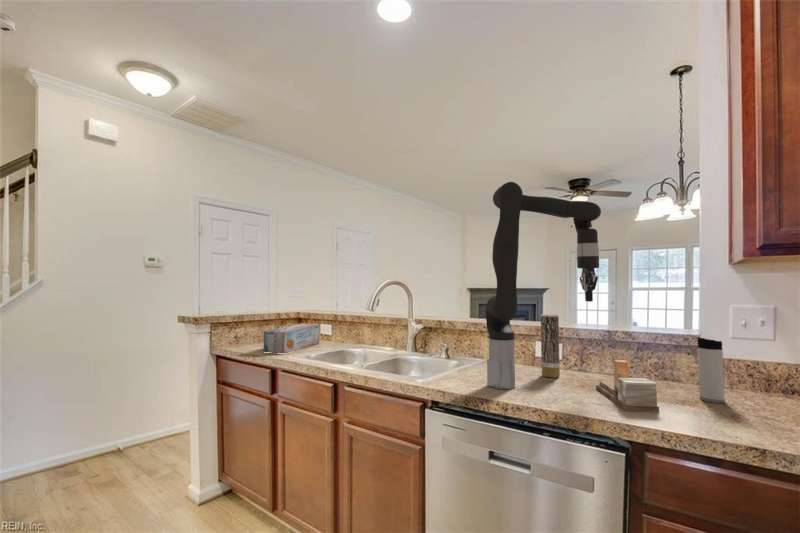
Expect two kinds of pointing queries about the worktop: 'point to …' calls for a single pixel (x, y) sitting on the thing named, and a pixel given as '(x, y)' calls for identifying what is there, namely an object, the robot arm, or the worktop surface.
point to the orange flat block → (620, 371)
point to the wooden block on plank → (632, 394)
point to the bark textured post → (550, 345)
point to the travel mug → (711, 370)
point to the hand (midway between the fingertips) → (588, 301)
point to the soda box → (291, 338)
